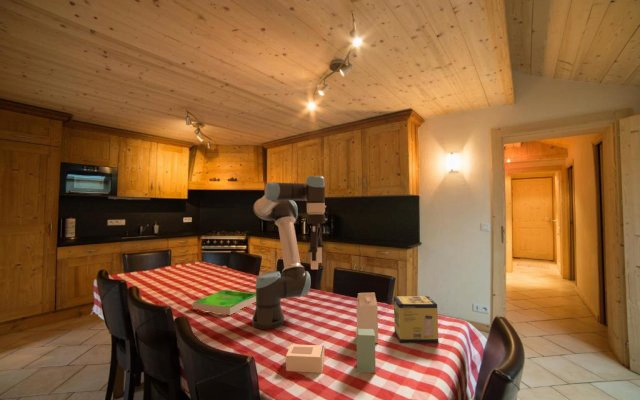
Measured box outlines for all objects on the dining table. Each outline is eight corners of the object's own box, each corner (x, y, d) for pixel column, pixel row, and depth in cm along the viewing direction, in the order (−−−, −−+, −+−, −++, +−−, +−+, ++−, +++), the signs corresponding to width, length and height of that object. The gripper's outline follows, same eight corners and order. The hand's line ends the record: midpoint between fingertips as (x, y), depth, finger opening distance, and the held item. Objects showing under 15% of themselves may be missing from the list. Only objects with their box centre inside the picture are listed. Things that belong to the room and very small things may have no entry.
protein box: (393, 332, 122) (392, 295, 123) (429, 332, 122) (428, 295, 122) (399, 343, 112) (398, 303, 112) (439, 343, 111) (438, 303, 112)
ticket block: (286, 370, 94) (286, 354, 94) (291, 358, 101) (291, 343, 102) (322, 372, 92) (321, 356, 92) (324, 359, 100) (324, 345, 100)
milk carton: (356, 336, 118) (356, 290, 119) (373, 335, 119) (372, 290, 120) (360, 344, 111) (359, 295, 112) (378, 343, 112) (377, 295, 113)
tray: (192, 311, 153) (192, 302, 153) (224, 297, 176) (224, 289, 176) (230, 317, 143) (230, 307, 144) (258, 302, 167) (258, 293, 167)
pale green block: (357, 372, 92) (356, 334, 93) (356, 363, 97) (356, 327, 98) (375, 372, 92) (374, 334, 92) (374, 364, 97) (373, 328, 97)
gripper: (321, 213, 103) (322, 272, 102) (327, 213, 127) (328, 260, 127) (301, 214, 104) (302, 272, 103) (311, 213, 128) (312, 260, 127)
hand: (316, 265), depth 115 cm, fingers open, 13 cm apart
